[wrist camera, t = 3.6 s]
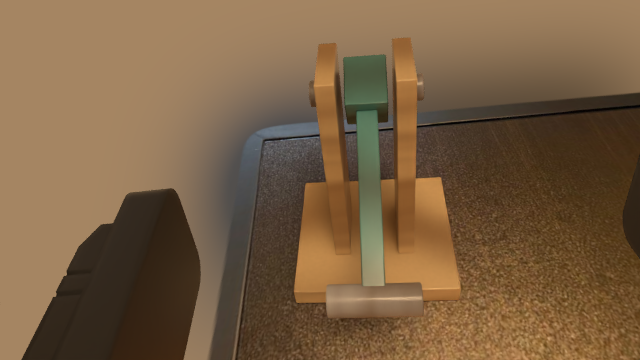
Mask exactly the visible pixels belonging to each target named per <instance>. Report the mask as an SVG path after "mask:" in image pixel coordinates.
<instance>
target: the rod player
mask: <svg viewBox="0 0 640 360" xmlns="http://www.w3.org/2000/svg"><path fill="white" fill-rule="evenodd" d="M343 62H344V99H345V100H344V101H345V102H344V103H345V110H346V117H347V123H348V124H357V154H358V185H359V217H360V248H361V279H362V284H328V285H327V287H326V312H327V317H328V318H383V317H423V313H424V306H423V291H422V284H421V283H420V282H414V283H385V263H384V241H383V220H382V198H381V177H380V155H379V133H378V123H382V122H388V90H387V72H386V56H385V55H371V56H357V57H344V59H343Z"/></svg>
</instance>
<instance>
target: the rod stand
mask: <svg viewBox="0 0 640 360" xmlns="http://www.w3.org/2000/svg"><path fill="white" fill-rule="evenodd" d="M392 73H393V132H394V179H391V180H381V198H382V220H383V241H384V263H385V283H414V282H420V283H421V284H422V291H423V301H435V300H459V299H460V292H461V286H460V280H459V275H458V269H457V264H456V258H455V252H454V247H453V241H452V236H451V230H450V225H449V219H448V214H447V208H446V203H445V197H444V192H443V186H442V181H441V178H440V177H436V178H416V130H417V101H418V100H423V99H424V78H423V74H422V73H421V74H416V68H415V62H414V57H413V50H412V44H411V38H397V39H392ZM309 98H310V104H311V107H316V108H317V116H318V124H319V131H320V139H321V146H322V154H323V162H324V169H325V177H326V182H323V183H306V185H305V194H304V203H303V213H302V222H301V231H300V240H299V249H298V258H297V267H296V276H295V285H294V295H295V299H296V303H326V287H327V285H328V284H362V279H361V248H360V217H359V185H358V181H349V173H348V162H347V151H346V140H345V130H344V119H343V108H342V97H341V86H340V76H339V66H338V54H337V45H336V43H330V44H319V46H318V54H317V62H316V71H315V79H314V81H310V82H309Z"/></svg>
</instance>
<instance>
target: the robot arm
mask: <svg viewBox="0 0 640 360" xmlns="http://www.w3.org/2000/svg"><path fill="white" fill-rule="evenodd" d="M623 227H624V232H625V236H626V238H627V241H628V243H629V244H630V246H631V248H632V249H633V250H634V252H635V253H636V254H637V256H638V257H639V259H640V155H639V159H638V162H637V166H636V169H635V172H634V176H633V179H632V183H631V186H630V189H629V193H628V196H627V200H626V203H625V206H624V210H623ZM200 273H201V272H200V260H199V255H198V251H197V248H196V245H195V242H194V239H193V236H192V233H191V231H190V228H189V225H188V222H187V219H186V216H185V213H184V210H183V207H182V205H181V202H180V199H179V197H178V194H177V193H176V191H175V190H174V189H171V188H170V189H161V190H151V191H142V192H133V193H129V194H127V195H126V197H125V199H124V201H123V203H122V205H121V207H120V210H119V212H118V214H117V216H116V219H115V221H114V223H112V224H103V225H100V226H99V227H98V228H97V229H96V230H95V231H94V232H93V233H92V234H91V235H90V236H89V237H88V238H87V239H86V240H85V241H84V242H83V243H82V244H81V245H80V246H79V247H78V249H77V252H76V253H75V255H74V257H73V259H72V261H71V263H70V265H69V267H68V269H67V276H64V277H63V279H62V281H61V283H60V285H59V287H58V289H57V291H56V293H57V295H56V297H53V299H52V301H51V303H50V305H49V306H48V308H47V311H46V312H45V314H44V316H43V318H42V320H41V322H40V324H39V326H38V328H37V330H36V332H35V334H34V336H33V338H32V340H31V342H30V344H29V346H28V348H27V350H26V352H25V354H24V356H23V358H22V360H183V359H184V355H185V350H186V345H187V341H188V336H189V332H190V327H191V323H192V318H193V313H194V309H195V305H196V300H197V295H198V291H199V286H200V275H201V274H200Z"/></svg>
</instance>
